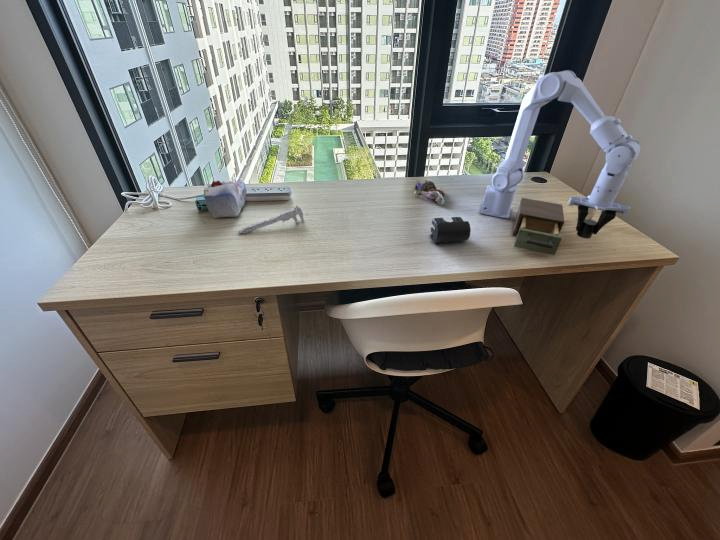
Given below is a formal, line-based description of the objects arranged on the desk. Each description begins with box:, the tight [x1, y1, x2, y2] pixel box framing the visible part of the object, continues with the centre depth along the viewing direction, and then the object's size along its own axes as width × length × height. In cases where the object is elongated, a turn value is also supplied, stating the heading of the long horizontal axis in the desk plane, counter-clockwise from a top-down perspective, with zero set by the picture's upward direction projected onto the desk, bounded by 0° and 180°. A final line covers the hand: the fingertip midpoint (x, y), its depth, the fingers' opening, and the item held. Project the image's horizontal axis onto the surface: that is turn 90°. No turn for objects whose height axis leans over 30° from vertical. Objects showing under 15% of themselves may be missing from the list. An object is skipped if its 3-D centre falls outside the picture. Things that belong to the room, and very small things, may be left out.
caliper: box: [238, 204, 304, 234], centre depth 104 cm, size 20×1×6 cm, turn 113°
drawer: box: [513, 217, 563, 256], centre depth 96 cm, size 16×11×6 cm
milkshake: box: [585, 194, 598, 220], centre depth 109 cm, size 5×5×10 cm
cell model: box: [203, 180, 247, 219], centre depth 113 cm, size 13×11×20 cm
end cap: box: [429, 216, 472, 244], centre depth 99 cm, size 10×7×7 cm
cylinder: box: [576, 219, 598, 240], centre depth 97 cm, size 4×4×4 cm
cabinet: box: [512, 197, 565, 237], centre depth 104 cm, size 13×12×8 cm
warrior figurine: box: [413, 179, 446, 206], centre depth 125 cm, size 12×5×18 cm
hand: (585, 231), depth 98 cm, fingers closed on cylinder, 4 cm apart
